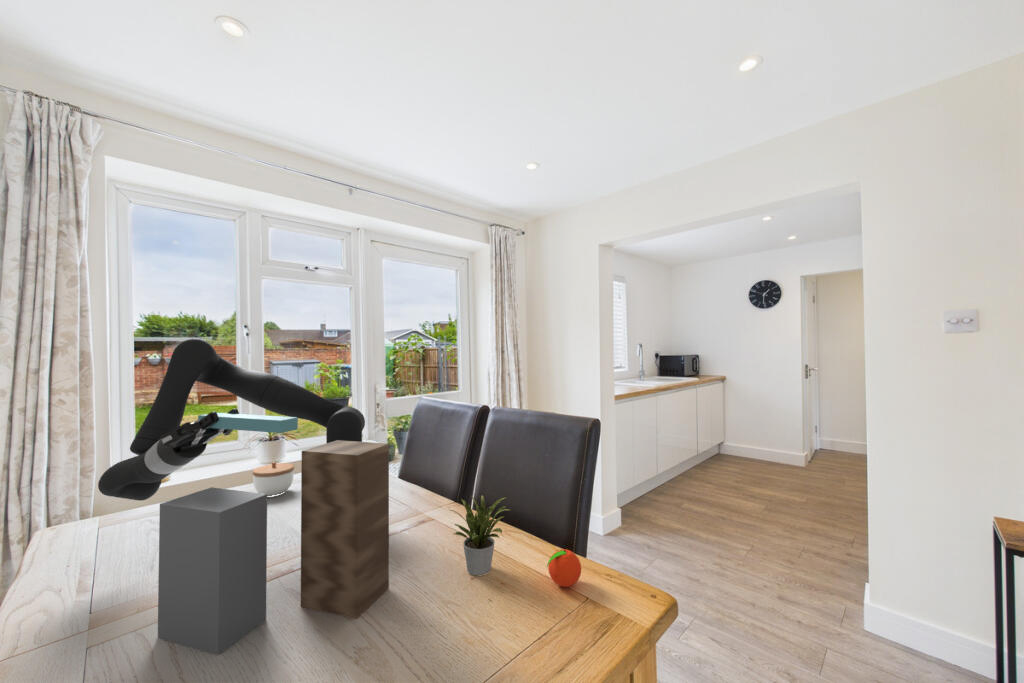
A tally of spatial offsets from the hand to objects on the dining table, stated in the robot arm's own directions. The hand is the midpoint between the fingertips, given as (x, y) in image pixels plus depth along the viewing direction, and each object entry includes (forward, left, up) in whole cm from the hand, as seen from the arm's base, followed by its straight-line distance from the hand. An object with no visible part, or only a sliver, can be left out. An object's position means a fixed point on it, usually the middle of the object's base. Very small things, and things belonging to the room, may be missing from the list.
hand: (226, 414), depth 84 cm
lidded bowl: (-22, -59, -37) cm, 73 cm away
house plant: (-44, +31, -37) cm, 65 cm away
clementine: (-52, +47, -37) cm, 79 cm away
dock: (+3, +12, -37) cm, 39 cm away
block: (-3, +5, -3) cm, 6 cm away
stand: (-18, +19, -37) cm, 45 cm away
